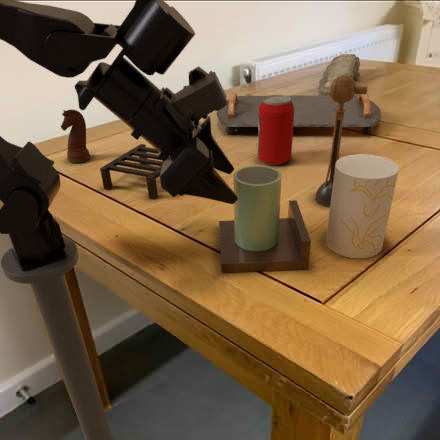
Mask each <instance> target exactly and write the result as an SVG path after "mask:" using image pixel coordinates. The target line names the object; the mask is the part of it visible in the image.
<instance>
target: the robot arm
mask: <svg viewBox="0 0 440 440" xmlns="http://www.w3.org/2000/svg"><path fill="white" fill-rule="evenodd" d="M195 36H196V32H195V30H194V29H193V27H192V26H191V25H190V23H189V22H188V21H187V20H186V18H185V17H184V16H183V15H182V14H181V13H180V12H179V11H178V10H177V8H175V7H174V6H173V5H171V6H170V5H169V4H168V3H167V2H166V1H164V0H135V2H134V5H133V6H132V8H131V10H130V11H129V12H128V14H127V15H126V16H125V18H124V20H123V21H122V23H121V24H119V25H118V24H112V23H110V24H109V23H102V22H101V23H100V22H94V21H93V20H92V19H91V18H90V17H89V16H88V15H86V14H84V13H82V12H80V11H77V10H74V9H73V10H72V9H69V8H65V7H64V8H63V7H59V6H53V5H47V4H39V3H33V2H32V3H31V2H25V1H20V0H0V40H1V41H3V42H5V43H6V44H8V45H10V46H12V47H14V48H15V49H16V50H17V51H19V52H20V53H21V54H22V55H23V56H24V57H25V58H27V59H28V60H30V61H32V62H33V63H35V64H37V65H38V66H39V67H42V68H44V69H45V70H48V71H49V72H50V73H53V74H54V75H57V76H58V77H61V78H66V79H69V78H70V79H72V78H75V77H77V76H79V75H82V74H83V73H85V71H87V69H88V68H89V67H90V66H91V64H92V63H94V62H98V61H100V60H105V59H106V58H107V57H109V55H110V54H111V52H112V51H113V50H114V49H115V48H116V47H117V45H118V46H119V47H120V48H121V50H120V52H119V53H118V54H117V56H116V57H115V58H114V60H113V61H112V62H111V64H109V63H107V62H104V61H101V62H98V64H97V66H96V67H95V69H94V70H93V71H92V73H91V74H90V75H89V77H88V78H87V80H78V81H77V82H76V83H75V84H74V90H75V92H76V94H77V101H78V108H79V110H80V111H85V110H86V109H87V107H88V106H89V105H90V103H91V102H92V101H93V99H95V100H96V101H98V103H100V104H101V105H103V107H105V108H106V109H107V110H109V111H110V113H112V114H113V115H114V116H116V117H117V119H119V120H120V121H122V122H123V123H124V124H126V125H127V126H128V127H129V128H130V129H131V132H130V136H131V137H132V138H134V139H135V140H136V141H139V139H140V138H142V139H143V140H145V141H146V142H147V143H148V144H150V146H152V148H154V149H157V150H158V151H159V153H158V154H157V155H158V158H159V159H161V160H160V161H162V162H164V163H163V164H162V168H161V173H160V176H159V180H160V188H161V189H163V191H165V192H166V193H168V194H169V195H170V196H172V197H173V198H175V197H177V196H180V197H182V196H184V195H186V196H191V197H198V198H203V199H207V200H212V201H216V202H220V203H225V204H229V205H234V203H235V202H236V201H237V200H238V197H237V195H236V194H235V193H234V189H232V188H231V187H230V185H228V183H227V182H226V181H225V180H224V178H223V177H222V176H221V175H220V174H219V173H218V171H219V172H222V173H224V174H226V175H231V174H232V173H233V172H234V171H235V167H234V166H233V164H232V163H231V161H230V159H229V158H228V156H227V155H226V153H225V152H224V151H223V149H222V148H221V146H220V145H219V144H218V142H217V141H216V139H215V137H214V136H213V134H212V119H211V116H210V114H211V113H213V112H215V111H216V112H217V111H219V110H220V109H222V108H224V107H225V106H226V105H227V100H228V99H227V94H226V92H225V89H224V87H223V86H222V83H221V82H220V80H219V77H218V75H217V73H216V72H215V71H213V70H210V71H209V72H207V71H206V70H204V69H203V68H202V67H200V66H197V67H195V68H193V69H191V70H189V71H188V85H183V88H182V89H180V90H179V91H177V92H173V91H172V90H171V89H170V88H169V87H164V86H162V87H161V88H159V87H158V86H157V85H155V84H154V83H153V82H152V81H151V80H150V79H149V78H148V77H147V76H154V75H155V73H157V74H158V75H161V76H162V75H163V76H164V75H166V72H167V71H168V70H169V68H170V67H171V66H172V65H173V63H174V62H175V61H176V59H177V58H178V57H179V56H180V54H181V53H182V52H183V51H184V50H185V48H186V47H187V46H188V44H189V43H190V42H191V41H192V40H193V38H194V37H195ZM124 56H125V57H126V58H125V57H124ZM144 74H145V75H147V76H145V75H144ZM201 119H204V121H202V122H201ZM168 157H169V158H168ZM167 158H168V159H167ZM166 159H167V160H166ZM165 160H166V161H165ZM54 164H55V161H54V160H52V159H50V158H48V157H47V156H45V154H43V153H42V152H41V151H40V150H39V148H38V147H37V145H35V144H34V143H32V141H27V142H26V143H25V145H24V146H23V147H22V146H19V145H17V144H14V143H11V142H9V141H7V140H6V139H5V138H3V137H2V136H1V135H0V202H1V203H2V204H3V205H2V206H1V207H0V234H1V235H7V237H8V240H9V243H10V245H11V248H12V253H13V255H14V257H15V259H16V261H17V263H18V264H19V266H20V268H21V270H22V271H28V270H31V269H34V268H37V267H40V266H43V265H46V264H49V263H52V262H55V261H58V260H61V259H64V258H66V257H67V255H66V253H65V251H64V250H63V249H64V248H65V243H64V239H63V237H64V235H63V233H62V229H61V226H60V225H61V224H60V223H59V221H58V220H57V218H55V217H54V216H53V214H52V213H51V212H50V210H49V209H50V207H51V205H52V204H53V202H54V200H55V198H56V197H57V195H58V193H59V191H60V189H61V178H60V177H61V175H60V173H59V172H58V170H57V169H56V168H55V167H54ZM216 170H217V171H216Z"/></svg>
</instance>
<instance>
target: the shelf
mask: <svg viewBox="0 0 440 440" xmlns="http://www.w3.org/2000/svg"><path fill="white" fill-rule="evenodd" d="M218 232H219V250H220V251H219V253H220V271H221V272H220V273H221V274H226V273H228V274H229V273H248V272H250V273H252V272H271V271H292V270H297V271H298V270H309V264H310V255H311V243H312V241H311V238H310V235H309V232H308V229H307V226H306V223H305V220H304V218H303V215H302V212H301V209H300V206H299V203H298V200H296V199H295V200H288V211H287V217H281V218H279V237H278V243H277V244H276V245H275V246H274V247H273V248H271V249H268V250H265V251H249V250H245V249H242V248H240V247H239V246H238V245H237V244H236V243H235V240H234V219H233V220H219V221H218Z"/></svg>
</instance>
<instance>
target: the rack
mask: <svg viewBox="0 0 440 440" xmlns="http://www.w3.org/2000/svg"><path fill="white" fill-rule="evenodd" d="M158 153H159V151H158V150H157V149H156V148H154V147H148V146H147V145H146V144H144V143H140V144H138V145H136V146H135V147H133V148H131V149H130V150H128V151H126V152H125V153H123V154H122V155H120V156H118V157H116V158H115V159H113V160H111V161H110V162H108V163H107V164H105V165H103V166H101V167H100V168H99V171H100V175H101V181H102V185H103V189H104V190H111V189H113V187H114V185H113V182H112V181H113V180H112V177H111V172H112V171H113V172H116V173H123V174H128V175H132V176H138V177H144V178H145V179H146V186H147V187H146V188H147V193H148V198H149V199H152V200H156V199H157V198H158V197H159V194H158V187H157V179H158V178H160V173H161V168H162V164H163V163H164V162H163V161H162V160H161V159H159V158H158ZM168 158H169V157H168ZM168 158H167V159H168ZM167 159H166V160H167ZM166 160H165V161H166Z"/></svg>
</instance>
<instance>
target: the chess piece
mask: <svg viewBox="0 0 440 440" xmlns="http://www.w3.org/2000/svg"><path fill="white" fill-rule="evenodd" d="M62 111H63V112H62V113H61V115H62V117H63V121H62V123H61V125H60V129H61V130H62V131H64V132H66V131H67V129H69V128H70V131H69V134H68V137H67V138H68V139H67V148H66V149H67V152H66V156H67V160H68V161H69V162H70V163H77V164H78V163H84V162H86V161H88V160H90V158H91V154H90V151H89V149H88V148H87V124H86V123H87V122H86V119H85V117H84V116H83V114H82V112H80V111H79V110H77V109H71V108H70V109H67V110H64V109H63V110H62Z"/></svg>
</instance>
